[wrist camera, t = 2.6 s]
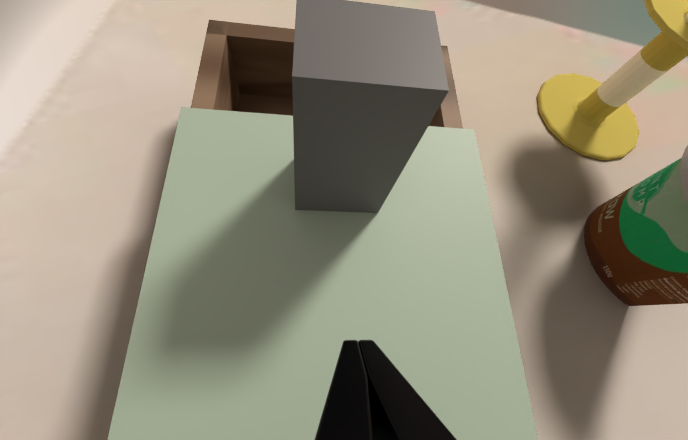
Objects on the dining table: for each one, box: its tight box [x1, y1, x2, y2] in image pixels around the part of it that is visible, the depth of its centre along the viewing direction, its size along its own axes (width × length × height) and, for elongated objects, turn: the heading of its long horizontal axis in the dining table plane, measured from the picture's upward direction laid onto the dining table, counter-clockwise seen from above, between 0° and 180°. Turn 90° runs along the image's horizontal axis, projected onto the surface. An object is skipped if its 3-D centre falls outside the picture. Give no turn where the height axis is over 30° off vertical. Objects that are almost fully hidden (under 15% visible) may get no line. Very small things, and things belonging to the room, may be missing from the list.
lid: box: [107, 0, 538, 440], centre depth 10 cm, size 20×16×9 cm
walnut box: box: [191, 20, 463, 129], centre depth 20 cm, size 20×16×6 cm
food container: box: [584, 146, 688, 306], centre depth 21 cm, size 12×6×10 cm, turn 144°
